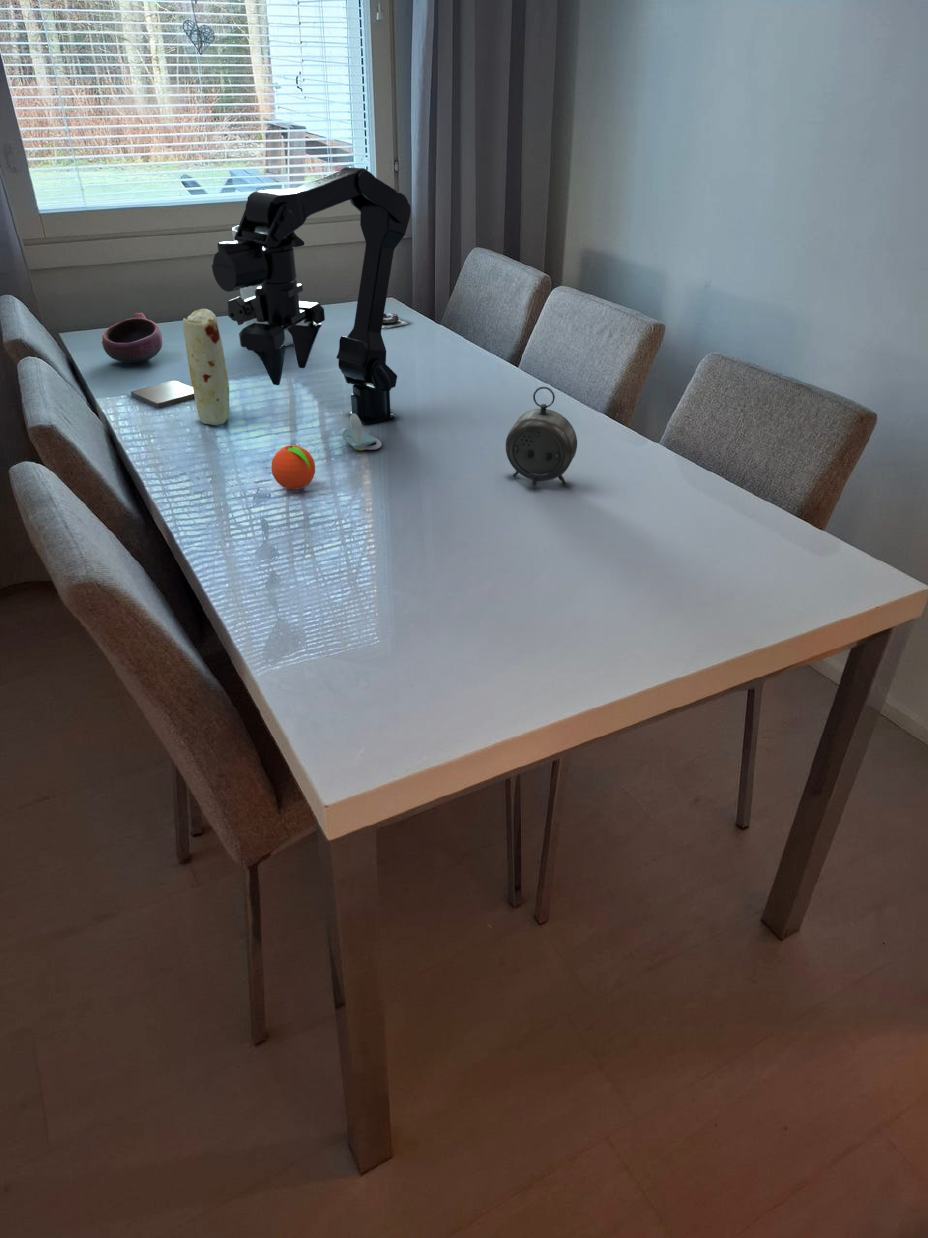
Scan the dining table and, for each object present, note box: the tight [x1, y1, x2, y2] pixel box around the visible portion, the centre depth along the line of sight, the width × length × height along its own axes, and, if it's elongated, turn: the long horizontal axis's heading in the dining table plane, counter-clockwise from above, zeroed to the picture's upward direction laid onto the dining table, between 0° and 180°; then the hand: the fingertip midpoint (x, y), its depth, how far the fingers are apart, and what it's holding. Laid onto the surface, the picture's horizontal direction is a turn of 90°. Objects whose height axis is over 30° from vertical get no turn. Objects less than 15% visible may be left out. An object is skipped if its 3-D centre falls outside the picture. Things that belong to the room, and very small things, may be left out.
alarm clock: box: [505, 385, 578, 490], centre depth 137 cm, size 11×5×16 cm, turn 71°
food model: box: [182, 308, 231, 426], centre depth 159 cm, size 10×7×20 cm
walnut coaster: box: [130, 379, 195, 409], centre depth 175 cm, size 10×10×1 cm
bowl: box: [101, 312, 164, 364], centre depth 193 cm, size 16×13×8 cm
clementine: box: [270, 444, 316, 491], centre depth 137 cm, size 8×7×7 cm
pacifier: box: [342, 414, 382, 451], centre depth 152 cm, size 7×6×6 cm
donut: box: [382, 312, 409, 330], centre depth 220 cm, size 8×8×2 cm
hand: (289, 376), depth 147 cm, fingers open, 9 cm apart
